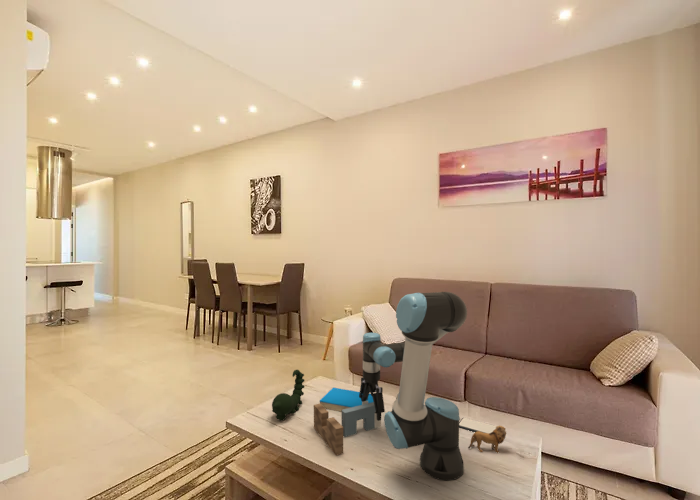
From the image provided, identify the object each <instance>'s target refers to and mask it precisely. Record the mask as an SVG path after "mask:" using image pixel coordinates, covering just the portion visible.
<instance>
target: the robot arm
mask: <svg viewBox="0 0 700 500" xmlns="http://www.w3.org/2000/svg"><path fill="white" fill-rule="evenodd" d="M467 316H468V307H467V305H466V303H465V301H464V300H463V299H462V298H461V296H459V295H457V294H456V293H453V292H451V291H438V292H437V291H435V292H414V293H408V294H405V295H404V296H403V297H401V298H400V300H399V302H398V303H397V307H396V312H395V319H396V325H397V327H398V329H399V330H400V331H401V334H402V336H403V337H404V338H405V339H404V342H403V341H402V342H396V343H395V342H394V343H385V344H384V343H382V342H381V341H382V339H381V335H380V333H378V332H366V333H364V334H363V335H362V377H361V378H360V389H359V392H360V393H359V398H361V401H362V405H364V404H368V401H366V400H368V396H369V394H371V396H372V397H373V401H374V406H375V410H376V412H375V429H379V428H381V427H382V414H383V413H384V416H383V417H384V420H383V421H384V422H383V423H384V427H385V432H386V435H387V437H388V439H389V442H390V443H391V445H392V446H393V448H395V449H397V450H404V449H410V448H413V447H417V446H423V447H422V449H421V452H420V454H419V466H420V468H421V470H422V471H423V472H424V473H425V474H427V475H428V476H430V477H432V478H434V479H437V480H440V481H441V480H442V481H453V480H456V479H459V478H460V477H461V476H462V475H464V471H465V462H464V460H463V455H462V453H461V449H460V428H459V422H460V421H461V420H460V419H461V418H460V409H459V406H457V404H455V403H454V402H453V401H451V400H449V399H446V398H442V397H439V396H438V397H437V396H435V397H434V396H430V397H427V398H426V391H427V385H428V377H429V376H428V375H429V370H430V364H431V355H432V349H433V348H432V347H433V345H434V344H436V343H437V342H438V341H439V340H440V339H442V338H443V337H444V336H445V335H447V334H448V333H454V332H456V331H457V330H458V329H460V328H461V327H462V326H463V324H465V322H466V320H467ZM396 363H402V364H401V373H400V379H399V381H400V382H399V388H398V393H399V395H398V399H396V398H395V400H394V401H393V403H392V410H391V411H387V412H386V411H385V410H386V408H385V403H384V395H383V387H382V386H379V381H380V380H381V367H382V368H389V367H391V366H393V365H394V364H396ZM425 398H426V399H425Z"/></svg>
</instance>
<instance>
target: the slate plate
mask: <svg viewBox="0 0 700 500" xmlns="http://www.w3.org/2000/svg"><path fill="white" fill-rule="evenodd" d="M375 412H376V410H375V406H374V402H372V403H368V404H364V405H360V406H355V407H351V408H347V409H343V410H342V412H341V425H342V426H343V438H348V437H351V436H353V435H357V434H358V429H357V428H358V421H361V420H363V421H362V423H363V425H362V428H363V429H364V430H366V432H368V431H371V430H375V429H376V428H375Z"/></svg>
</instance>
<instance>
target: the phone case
mask: <svg viewBox="0 0 700 500" xmlns="http://www.w3.org/2000/svg"><path fill="white" fill-rule="evenodd" d="M460 419H461V420H459V429H462V430H466V431H468V430H469V432H471V431H472V433H474V432H477V431H480V432H483V433H491V432H493V430H495V429H496V427H497V426H498V425H495V424H490V423H486V422H482V421H479V420H476V419H471V418H468V417H462V418H460Z"/></svg>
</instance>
